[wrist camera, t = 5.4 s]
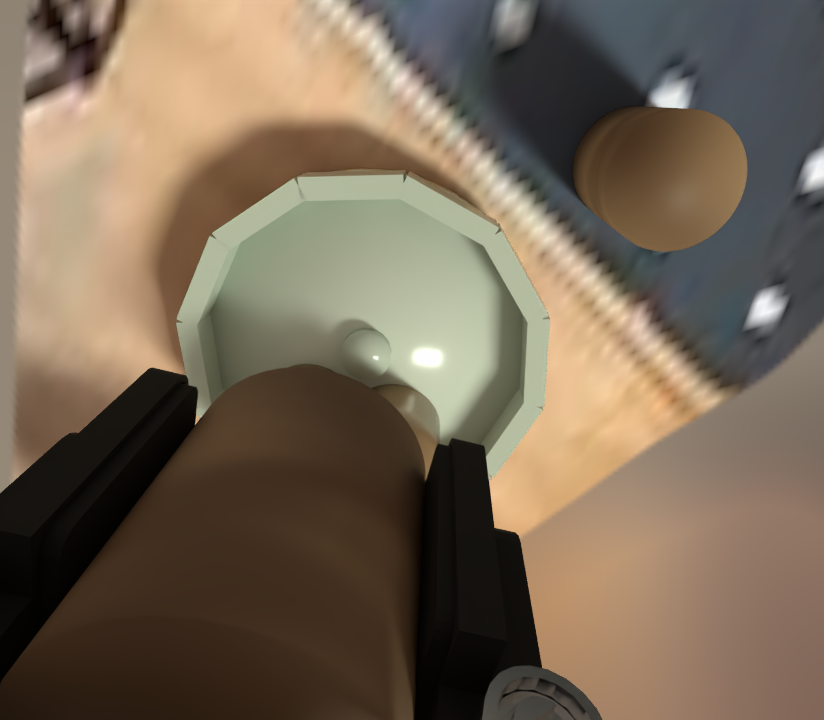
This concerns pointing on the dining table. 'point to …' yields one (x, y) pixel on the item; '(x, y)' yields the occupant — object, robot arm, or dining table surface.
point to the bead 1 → (251, 572)
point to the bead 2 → (661, 174)
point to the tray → (375, 305)
